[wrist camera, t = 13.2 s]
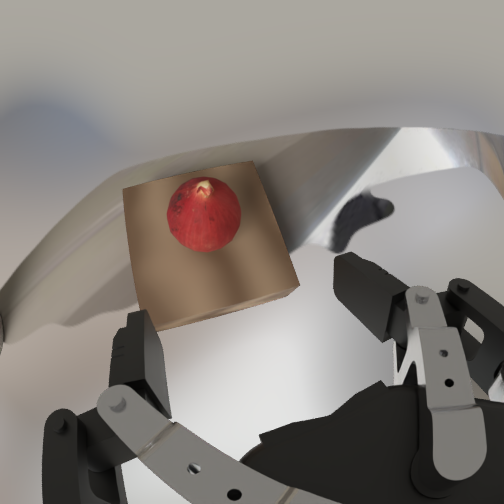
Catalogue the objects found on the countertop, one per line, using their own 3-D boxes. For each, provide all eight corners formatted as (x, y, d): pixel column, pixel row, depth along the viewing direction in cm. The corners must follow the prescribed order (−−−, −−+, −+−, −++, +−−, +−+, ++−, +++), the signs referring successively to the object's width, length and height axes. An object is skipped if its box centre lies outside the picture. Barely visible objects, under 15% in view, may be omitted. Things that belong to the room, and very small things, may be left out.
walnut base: (156, 332, 26) (143, 327, 21) (133, 212, 30) (122, 189, 25) (286, 296, 29) (300, 285, 24) (247, 186, 33) (252, 160, 28)
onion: (168, 260, 23) (149, 218, 16) (179, 203, 26) (169, 148, 18) (234, 267, 24) (243, 227, 17) (239, 209, 26) (250, 155, 19)
